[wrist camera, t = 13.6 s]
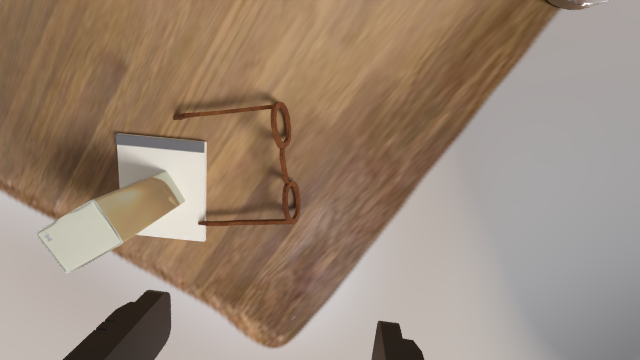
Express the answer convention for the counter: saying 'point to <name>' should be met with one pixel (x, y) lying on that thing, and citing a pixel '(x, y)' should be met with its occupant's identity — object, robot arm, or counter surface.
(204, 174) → the board
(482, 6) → the counter surface
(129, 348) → the robot arm
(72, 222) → the skincare box
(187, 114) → the glasses
